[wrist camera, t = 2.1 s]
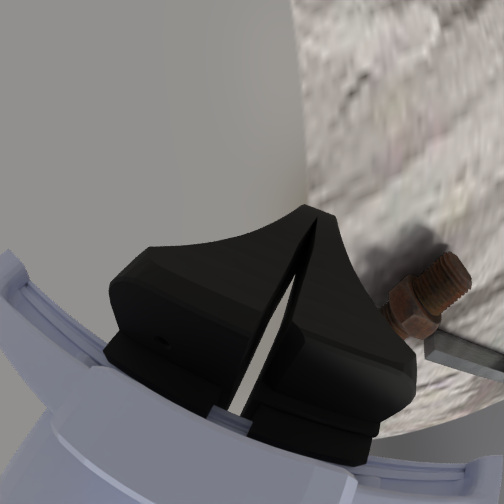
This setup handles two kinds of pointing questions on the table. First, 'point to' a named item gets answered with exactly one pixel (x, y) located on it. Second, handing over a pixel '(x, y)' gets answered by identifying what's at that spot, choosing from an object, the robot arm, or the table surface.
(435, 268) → the bolt
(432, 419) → the table surface
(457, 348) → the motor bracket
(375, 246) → the table surface
